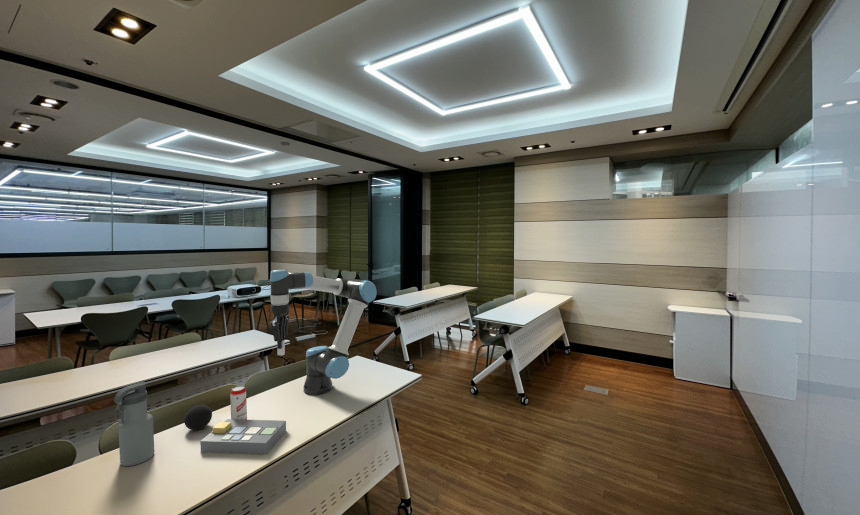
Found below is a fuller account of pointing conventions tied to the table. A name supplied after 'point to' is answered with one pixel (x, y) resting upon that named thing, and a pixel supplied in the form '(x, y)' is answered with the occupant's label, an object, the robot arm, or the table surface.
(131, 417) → the water bottle
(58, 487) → the table surface
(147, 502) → the table surface
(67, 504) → the table surface
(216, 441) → the keypad
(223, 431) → the key mustard
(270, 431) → the key sage
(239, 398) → the beer can
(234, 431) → the key slate
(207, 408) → the speaker
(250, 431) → the key ivory
